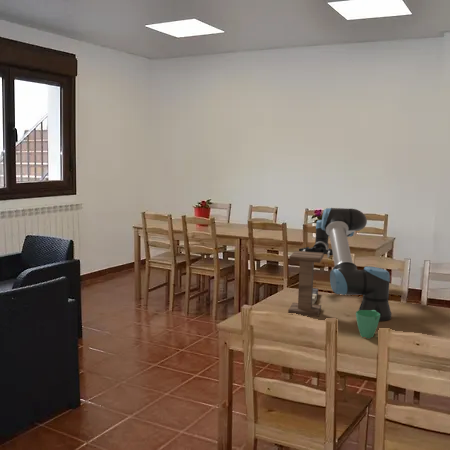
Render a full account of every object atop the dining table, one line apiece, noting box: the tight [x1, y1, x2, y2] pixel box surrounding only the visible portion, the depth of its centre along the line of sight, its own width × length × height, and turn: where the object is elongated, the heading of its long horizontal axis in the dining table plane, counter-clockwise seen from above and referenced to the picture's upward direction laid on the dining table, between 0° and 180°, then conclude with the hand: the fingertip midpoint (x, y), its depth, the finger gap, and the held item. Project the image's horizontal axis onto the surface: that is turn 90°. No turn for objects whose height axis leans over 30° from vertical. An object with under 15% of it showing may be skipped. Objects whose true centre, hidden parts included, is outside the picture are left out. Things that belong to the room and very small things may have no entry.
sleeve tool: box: [312, 287, 319, 305], centre depth 290 cm, size 22×5×3 cm, turn 163°
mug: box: [355, 309, 380, 339], centre depth 232 cm, size 15×10×10 cm
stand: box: [287, 250, 325, 318], centre depth 264 cm, size 16×14×28 cm
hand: (315, 254), depth 298 cm, fingers open, 13 cm apart
